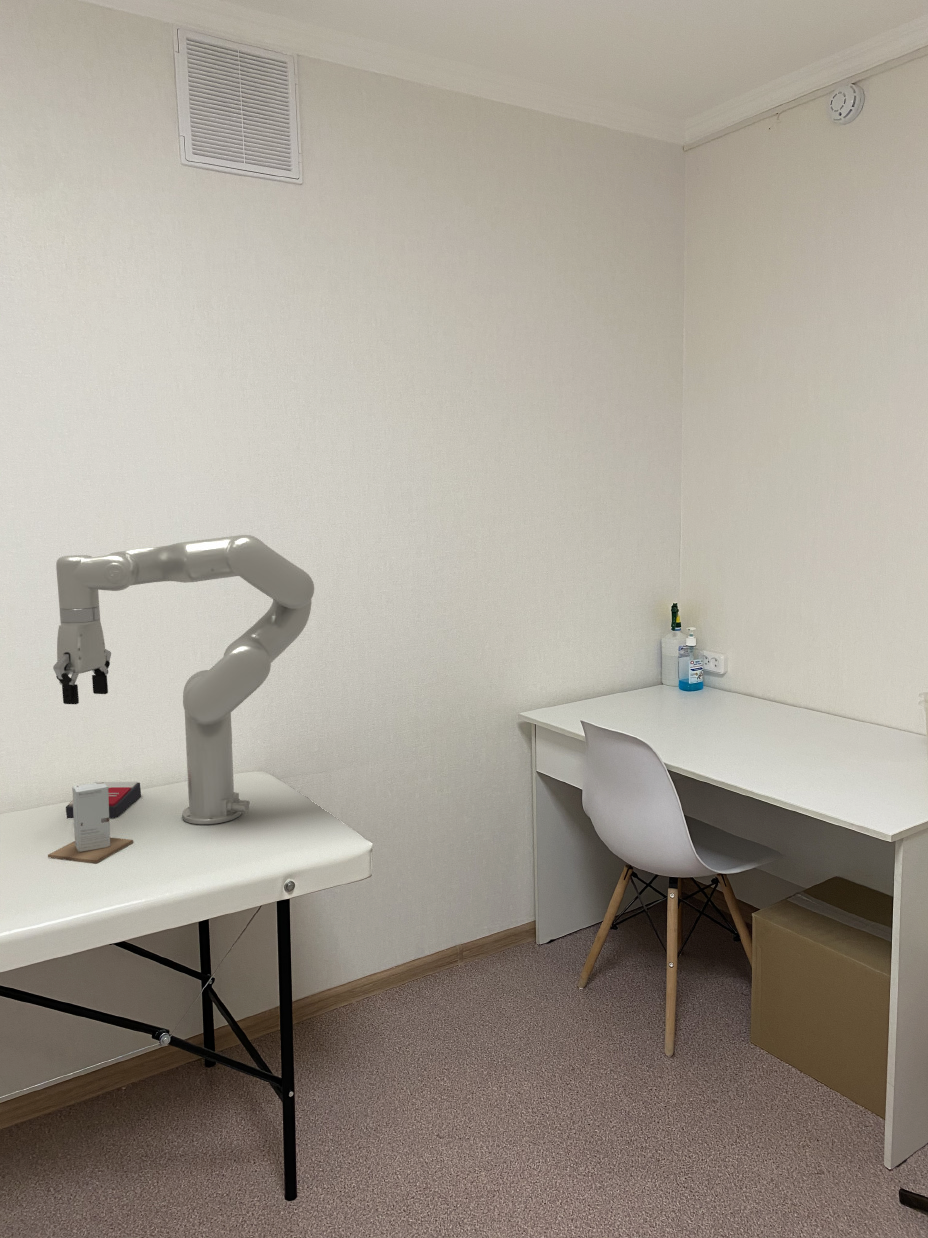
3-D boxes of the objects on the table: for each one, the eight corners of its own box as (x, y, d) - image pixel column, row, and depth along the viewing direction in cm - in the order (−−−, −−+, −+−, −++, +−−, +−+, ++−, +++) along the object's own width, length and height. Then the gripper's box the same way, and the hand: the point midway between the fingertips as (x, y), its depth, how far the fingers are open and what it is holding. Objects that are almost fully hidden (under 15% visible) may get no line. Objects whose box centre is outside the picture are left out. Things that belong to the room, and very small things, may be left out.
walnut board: (133, 842, 183) (133, 840, 183) (96, 863, 172) (96, 860, 172) (86, 837, 186) (86, 834, 186) (48, 857, 176) (47, 854, 176)
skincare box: (78, 853, 176) (74, 792, 175) (74, 846, 180) (70, 786, 178) (112, 846, 179) (108, 786, 178) (107, 839, 183) (103, 780, 182)
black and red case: (64, 804, 197) (93, 779, 212) (66, 822, 198) (94, 797, 213) (115, 803, 197) (140, 779, 212) (116, 822, 198) (141, 796, 212)
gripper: (90, 610, 196) (95, 689, 198) (35, 621, 179) (42, 707, 181) (121, 611, 194) (126, 690, 196) (69, 622, 177) (75, 708, 180)
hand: (86, 698), depth 189 cm, fingers open, 9 cm apart
